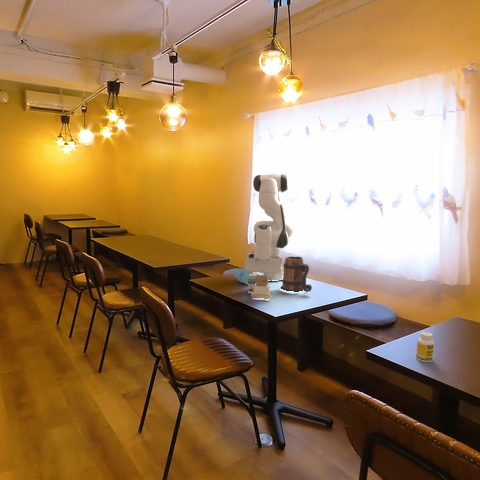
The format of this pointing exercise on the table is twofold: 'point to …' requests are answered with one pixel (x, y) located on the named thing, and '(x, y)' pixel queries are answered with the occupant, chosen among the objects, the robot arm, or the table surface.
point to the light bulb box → (252, 281)
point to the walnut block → (262, 280)
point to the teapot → (243, 275)
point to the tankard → (295, 275)
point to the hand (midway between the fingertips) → (262, 279)
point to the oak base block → (261, 295)
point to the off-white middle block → (261, 289)
